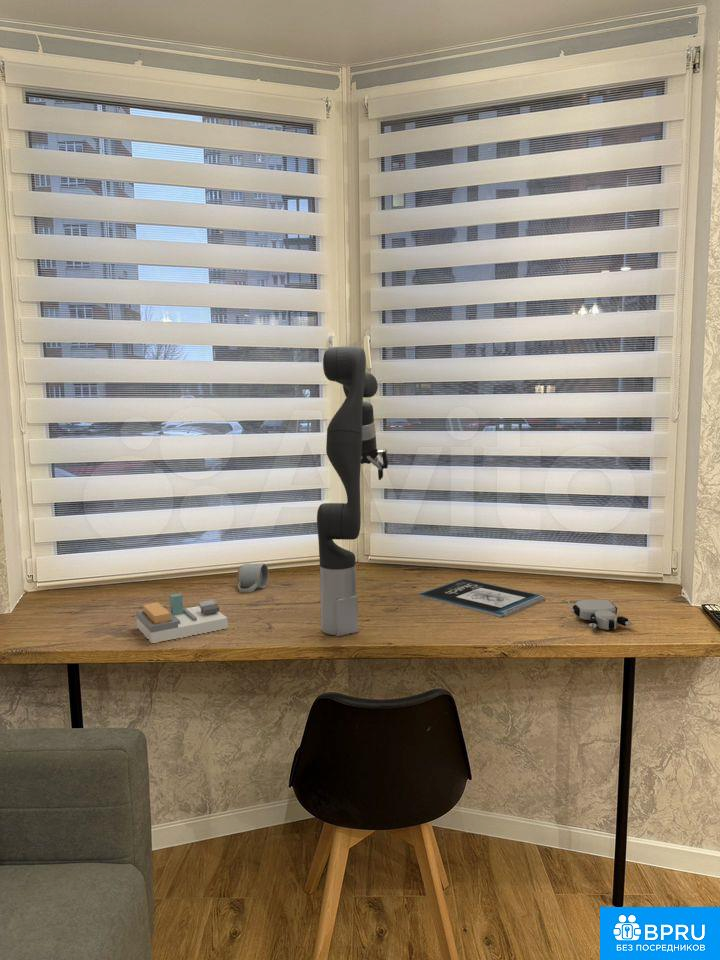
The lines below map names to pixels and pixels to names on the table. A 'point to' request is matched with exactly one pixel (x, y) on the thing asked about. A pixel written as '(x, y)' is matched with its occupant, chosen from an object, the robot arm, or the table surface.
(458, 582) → the sketchbook
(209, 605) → the rocker switch
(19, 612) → the table surface
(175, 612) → the slide switch
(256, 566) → the ceramic mug
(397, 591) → the table surface
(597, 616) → the robot toy
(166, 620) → the paddle button
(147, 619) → the switch panel
